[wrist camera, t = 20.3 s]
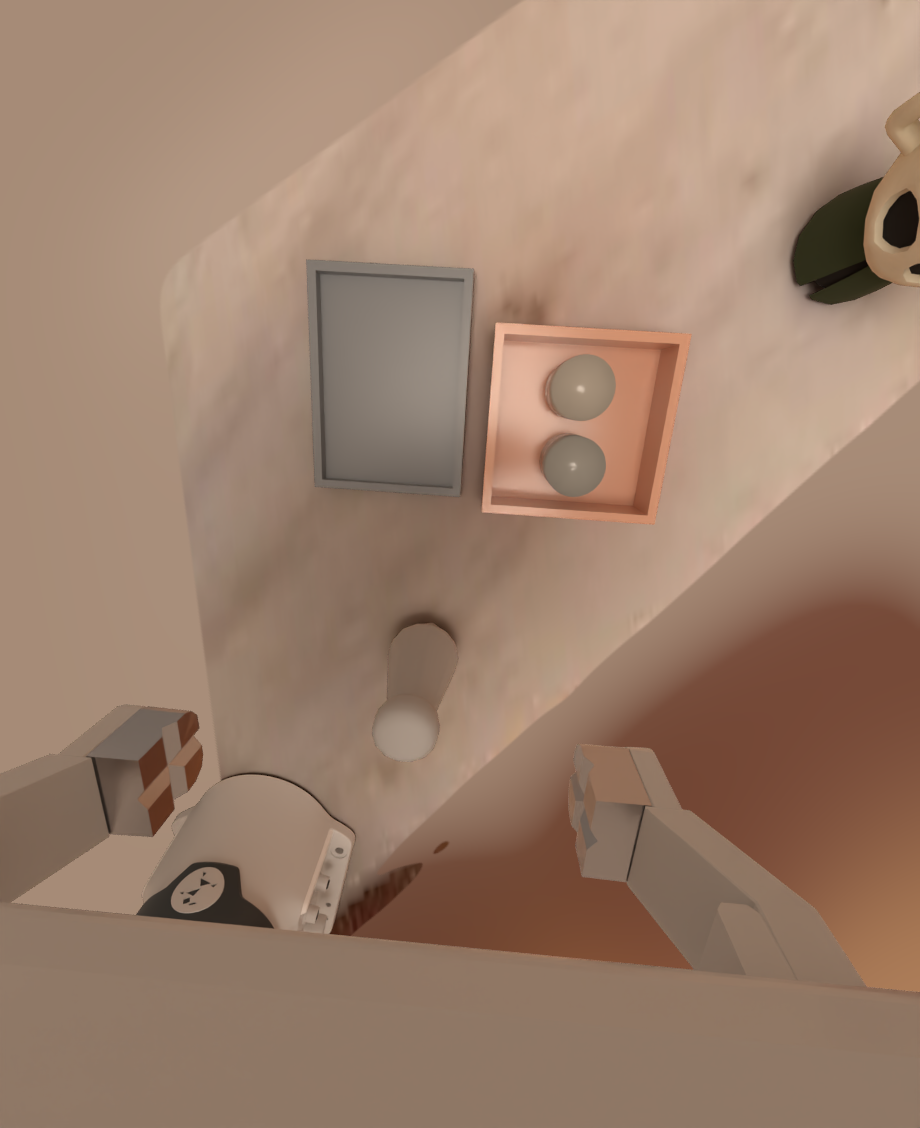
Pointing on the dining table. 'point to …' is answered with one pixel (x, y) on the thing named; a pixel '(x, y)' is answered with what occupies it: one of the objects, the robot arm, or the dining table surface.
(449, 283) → the tray
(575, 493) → the pebble
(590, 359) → the pebble
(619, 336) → the open box
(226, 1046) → the robot arm
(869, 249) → the character mug
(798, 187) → the dining table surface
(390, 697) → the salt shaker
